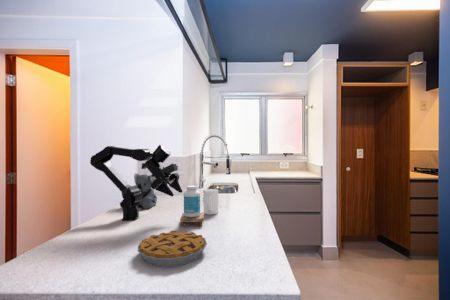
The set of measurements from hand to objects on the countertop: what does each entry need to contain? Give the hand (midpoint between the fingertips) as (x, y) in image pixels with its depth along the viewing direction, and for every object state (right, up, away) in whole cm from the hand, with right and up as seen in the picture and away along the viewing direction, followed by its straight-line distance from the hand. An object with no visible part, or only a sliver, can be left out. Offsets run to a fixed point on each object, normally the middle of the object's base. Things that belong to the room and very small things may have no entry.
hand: (177, 194), depth 120 cm
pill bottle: (+7, -10, -2) cm, 12 cm away
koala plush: (-27, -13, +35) cm, 46 cm away
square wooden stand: (+7, -13, -2) cm, 15 cm away
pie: (+5, -14, -35) cm, 38 cm away
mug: (+14, -13, +16) cm, 25 cm away
